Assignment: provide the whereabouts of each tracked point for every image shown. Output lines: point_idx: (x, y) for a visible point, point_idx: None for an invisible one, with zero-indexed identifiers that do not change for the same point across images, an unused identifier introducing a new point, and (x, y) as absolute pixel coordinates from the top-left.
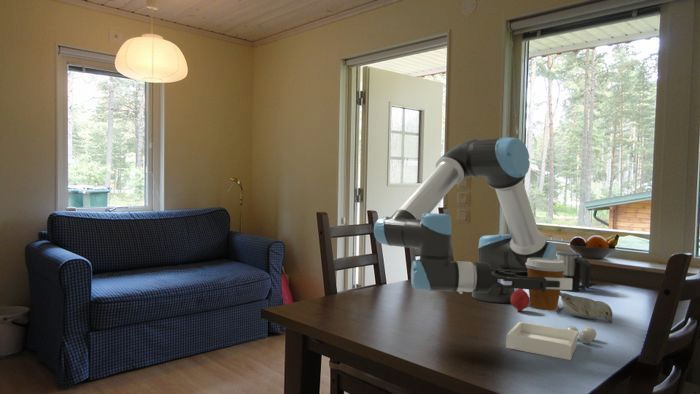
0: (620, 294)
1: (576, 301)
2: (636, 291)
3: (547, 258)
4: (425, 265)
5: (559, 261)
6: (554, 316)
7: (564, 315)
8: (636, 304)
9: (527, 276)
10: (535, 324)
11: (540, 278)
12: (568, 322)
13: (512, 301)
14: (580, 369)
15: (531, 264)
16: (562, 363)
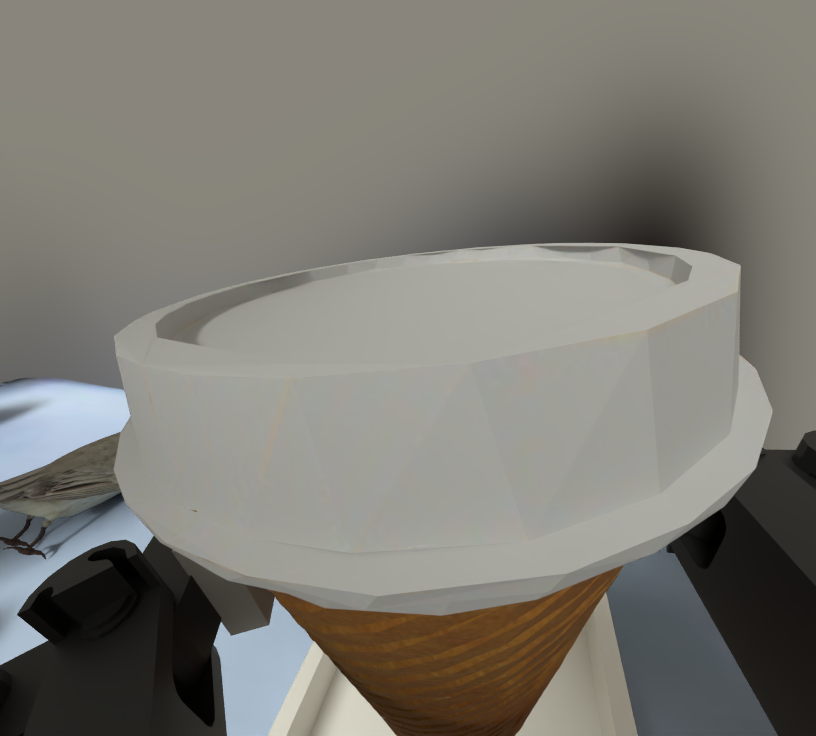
0: (12, 406)
1: (86, 469)
2: (21, 388)
3: (245, 285)
4: None
5: (363, 271)
6: (45, 573)
7: (61, 536)
8: (97, 398)
9: (183, 661)
10: (285, 718)
11: (770, 476)
12: (143, 536)
13: None
14: (674, 584)
15: (717, 414)
16: (667, 649)
